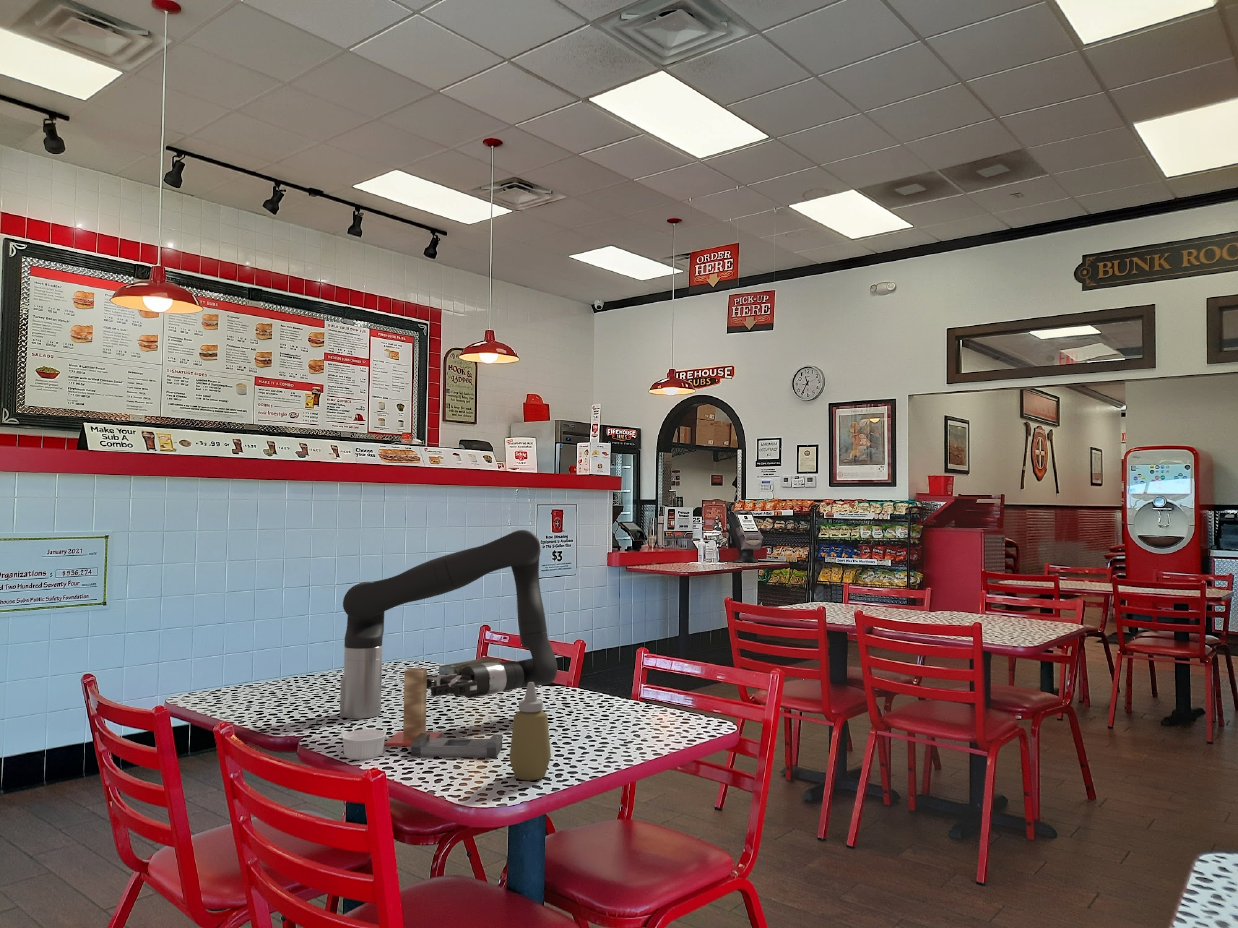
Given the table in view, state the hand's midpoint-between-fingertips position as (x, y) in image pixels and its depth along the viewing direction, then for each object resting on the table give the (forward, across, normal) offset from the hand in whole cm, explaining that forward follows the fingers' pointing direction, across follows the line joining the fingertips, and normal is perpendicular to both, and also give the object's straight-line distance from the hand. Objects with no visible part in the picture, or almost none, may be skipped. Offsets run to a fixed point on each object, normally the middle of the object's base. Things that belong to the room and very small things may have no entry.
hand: (422, 688), depth 192 cm
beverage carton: (-44, -49, +12) cm, 67 cm away
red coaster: (+2, 0, +11) cm, 11 cm away
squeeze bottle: (-2, +39, +11) cm, 40 cm away
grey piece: (0, +15, +11) cm, 19 cm away
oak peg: (+2, 0, +10) cm, 11 cm away
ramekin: (+15, +3, +12) cm, 19 cm away
